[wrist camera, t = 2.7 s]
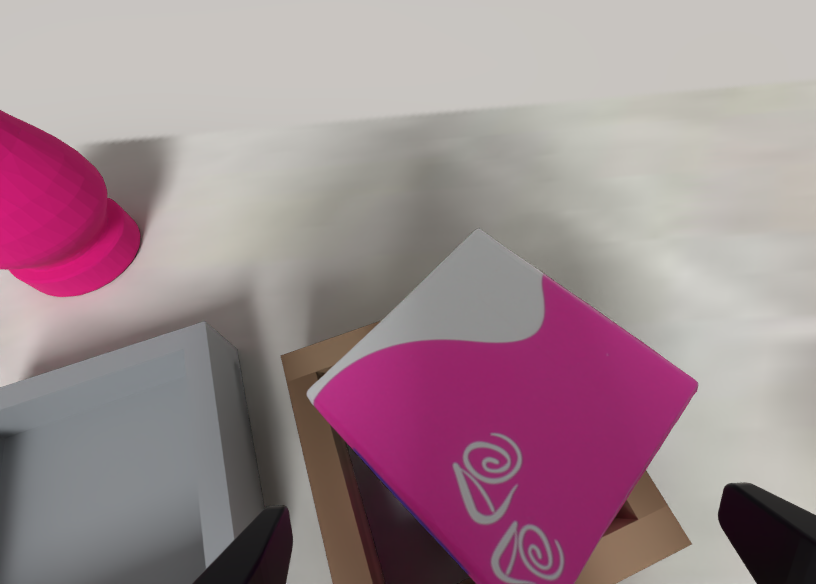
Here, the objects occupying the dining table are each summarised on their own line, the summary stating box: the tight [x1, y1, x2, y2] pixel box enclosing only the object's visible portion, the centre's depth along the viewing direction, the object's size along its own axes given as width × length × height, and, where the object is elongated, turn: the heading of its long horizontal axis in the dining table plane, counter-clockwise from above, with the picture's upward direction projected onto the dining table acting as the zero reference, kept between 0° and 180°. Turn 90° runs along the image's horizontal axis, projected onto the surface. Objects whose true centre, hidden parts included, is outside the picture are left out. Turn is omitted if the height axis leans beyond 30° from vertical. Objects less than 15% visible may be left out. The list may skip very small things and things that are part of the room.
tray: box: [0, 321, 264, 584], centre depth 15 cm, size 11×11×4 cm
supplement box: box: [307, 228, 698, 584], centre depth 13 cm, size 6×6×12 cm
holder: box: [281, 320, 692, 584], centre depth 16 cm, size 11×11×4 cm
